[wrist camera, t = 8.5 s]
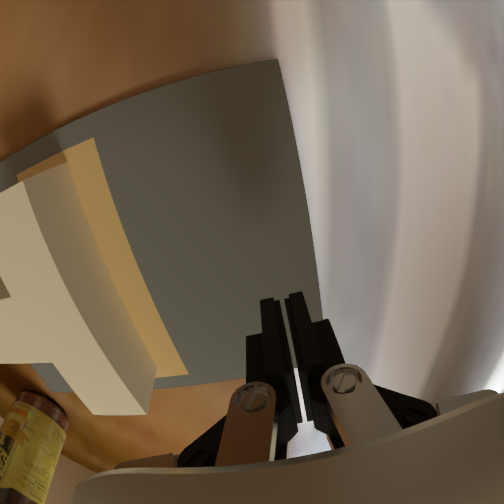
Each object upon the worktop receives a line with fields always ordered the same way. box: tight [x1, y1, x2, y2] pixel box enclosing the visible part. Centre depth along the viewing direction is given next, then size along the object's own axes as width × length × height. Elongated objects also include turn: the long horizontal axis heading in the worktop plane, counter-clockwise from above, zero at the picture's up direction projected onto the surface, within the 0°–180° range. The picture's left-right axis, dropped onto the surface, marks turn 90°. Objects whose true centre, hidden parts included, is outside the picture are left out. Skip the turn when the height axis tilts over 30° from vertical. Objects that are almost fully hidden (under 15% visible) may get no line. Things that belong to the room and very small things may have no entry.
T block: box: [0, 162, 157, 415], centre depth 14 cm, size 12×14×4 cm
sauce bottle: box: [0, 391, 69, 504], centre depth 13 cm, size 7×6×20 cm
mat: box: [0, 59, 323, 392], centre depth 16 cm, size 23×18×1 cm
